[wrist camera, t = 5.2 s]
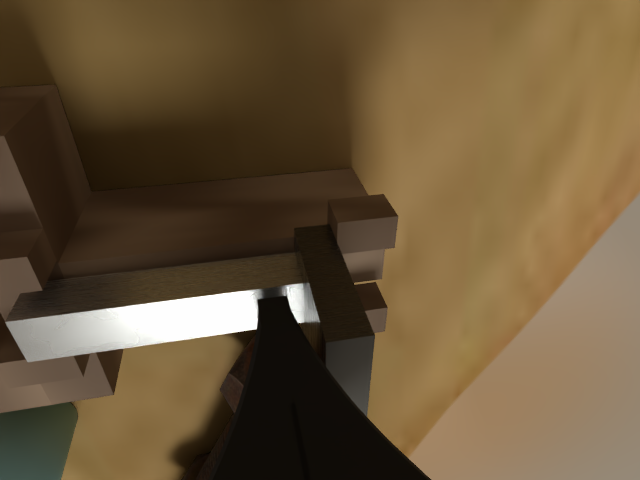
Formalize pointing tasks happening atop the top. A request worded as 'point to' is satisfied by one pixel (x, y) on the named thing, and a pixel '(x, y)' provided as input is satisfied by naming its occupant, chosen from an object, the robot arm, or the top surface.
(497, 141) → the top surface
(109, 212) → the mount
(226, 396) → the bolt
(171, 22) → the top surface
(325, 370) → the robot arm
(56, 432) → the dowel
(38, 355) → the lock bar
